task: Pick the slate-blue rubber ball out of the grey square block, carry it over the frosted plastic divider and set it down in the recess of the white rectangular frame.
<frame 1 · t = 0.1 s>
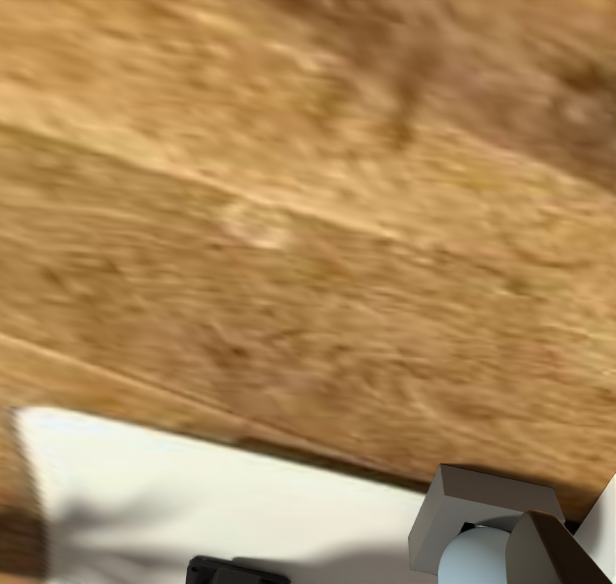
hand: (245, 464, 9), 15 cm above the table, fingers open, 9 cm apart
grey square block: (477, 514, 29), on the table
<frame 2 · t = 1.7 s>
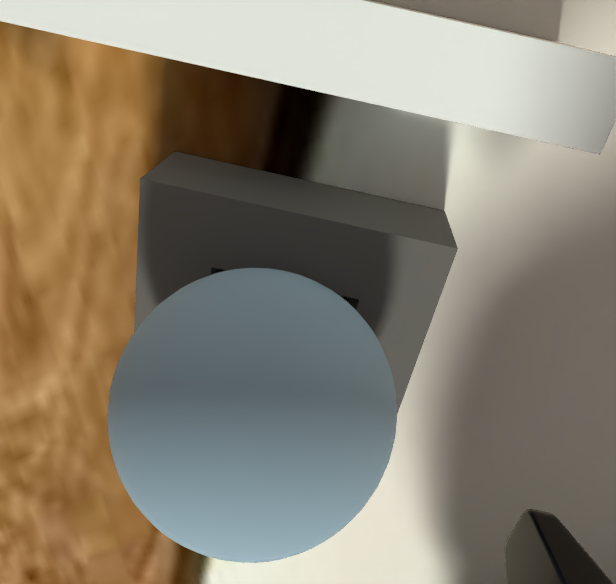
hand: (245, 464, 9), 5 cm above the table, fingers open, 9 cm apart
ball: (256, 406, 10), point 4 cm above the table, touching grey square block
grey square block: (286, 298, 13), on the table
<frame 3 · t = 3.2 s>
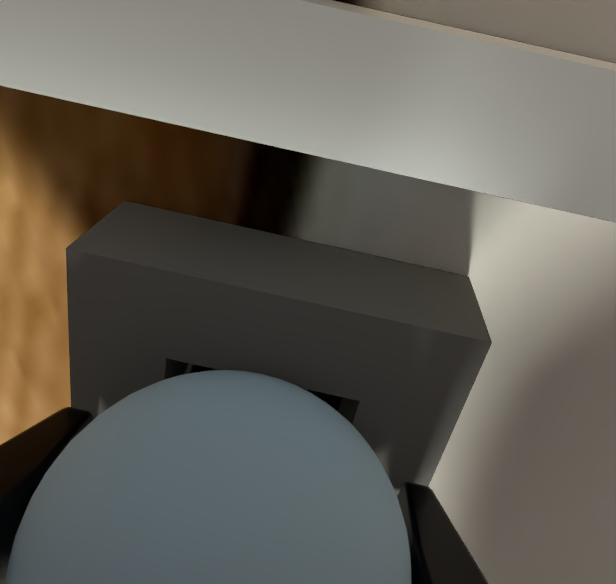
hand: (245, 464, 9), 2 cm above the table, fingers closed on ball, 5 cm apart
ball: (219, 560, 7), point 4 cm above the table, touching gripper, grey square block
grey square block: (269, 375, 11), on the table
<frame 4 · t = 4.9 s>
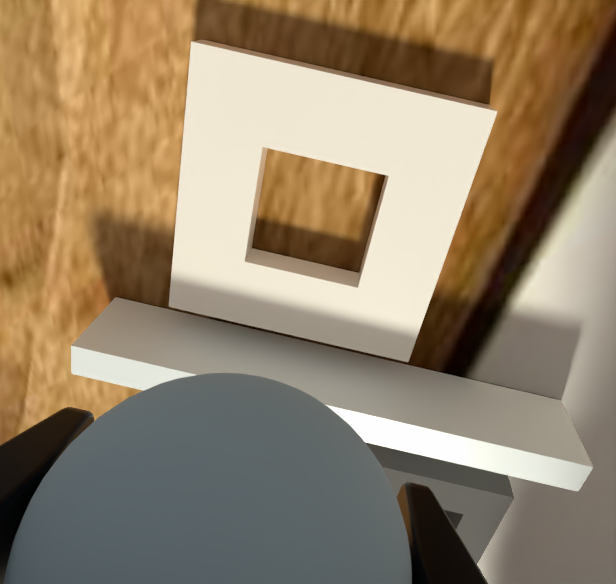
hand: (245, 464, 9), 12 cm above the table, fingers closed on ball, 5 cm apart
divider wall: (334, 360, 21), on the table
white rectangular frame: (316, 209, 19), on the table
ball: (219, 564, 7), point 13 cm above the table, touching gripper
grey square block: (413, 492, 24), on the table
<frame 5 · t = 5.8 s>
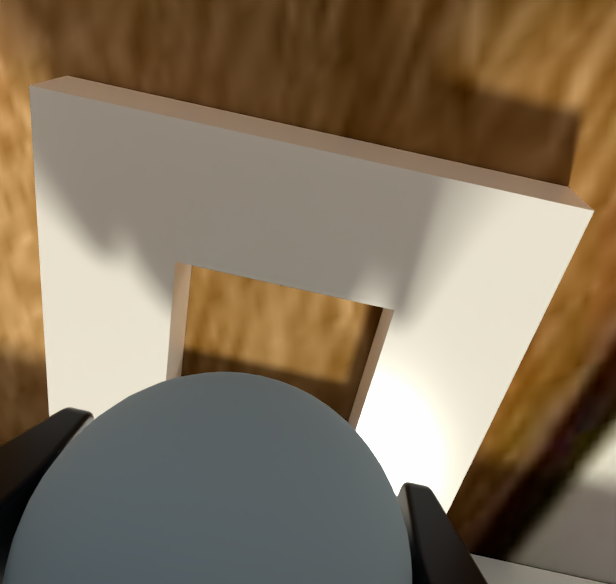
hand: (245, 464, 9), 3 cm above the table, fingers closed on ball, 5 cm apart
divider wall: (313, 534, 15), on the table
white rectangular frame: (277, 339, 12), on the table
ball: (218, 563, 7), point 5 cm above the table, touching gripper
when the fingers open (3 cm above the table, at t = 6.7 s): ball drops 2 cm, resting on white rectangular frame.
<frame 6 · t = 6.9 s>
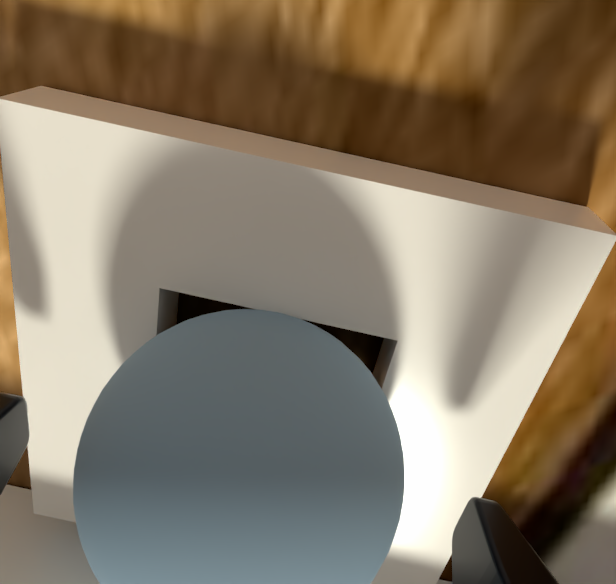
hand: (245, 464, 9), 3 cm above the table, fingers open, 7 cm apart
divider wall: (310, 566, 14), on the table
white rectangular frame: (271, 366, 11), on the table
ball: (244, 466, 9), point 3 cm above the table, touching white rectangular frame
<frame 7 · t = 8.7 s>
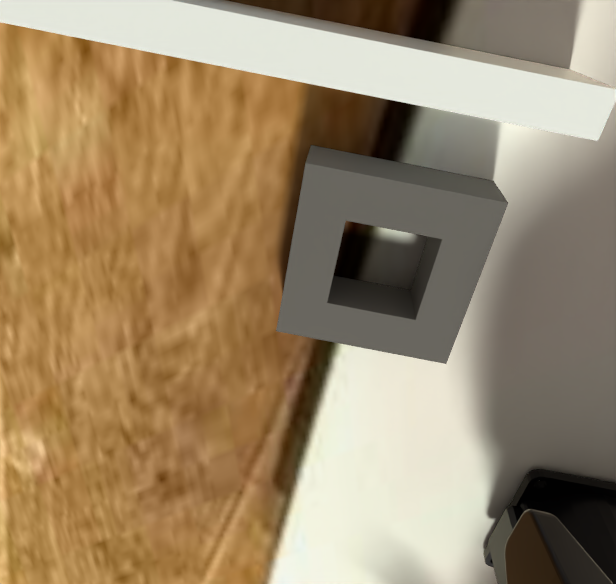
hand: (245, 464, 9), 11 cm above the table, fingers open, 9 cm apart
divider wall: (261, 30, 16), on the table
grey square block: (380, 245, 19), on the table
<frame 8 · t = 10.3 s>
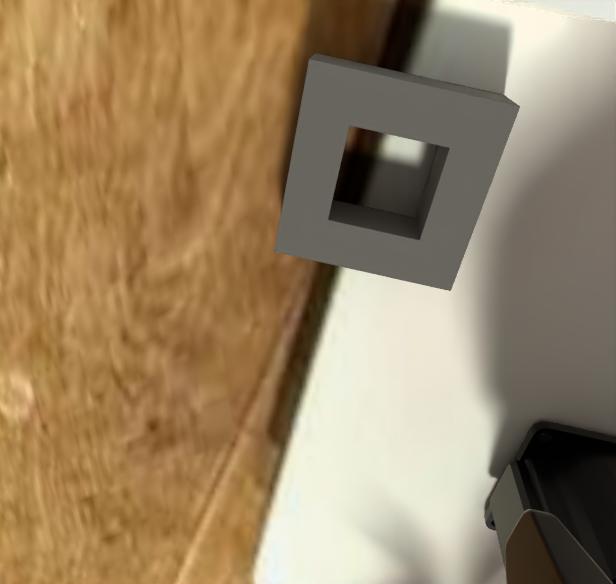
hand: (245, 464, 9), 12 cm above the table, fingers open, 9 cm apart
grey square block: (384, 167, 18), on the table
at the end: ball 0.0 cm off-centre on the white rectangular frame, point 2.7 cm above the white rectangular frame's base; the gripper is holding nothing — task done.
